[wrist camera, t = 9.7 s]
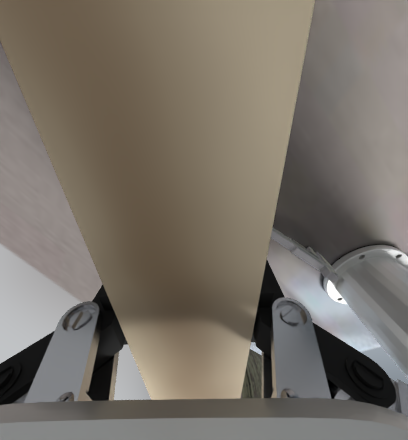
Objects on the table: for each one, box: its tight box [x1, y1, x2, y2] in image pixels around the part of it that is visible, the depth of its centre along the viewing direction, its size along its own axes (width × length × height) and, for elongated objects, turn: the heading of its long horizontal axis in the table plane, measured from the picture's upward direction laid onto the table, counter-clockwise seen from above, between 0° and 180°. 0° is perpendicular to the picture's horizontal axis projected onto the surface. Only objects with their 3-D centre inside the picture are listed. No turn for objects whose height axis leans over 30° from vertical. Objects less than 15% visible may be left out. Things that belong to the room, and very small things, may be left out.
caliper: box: [271, 227, 339, 283], centre depth 23 cm, size 20×1×6 cm, turn 58°
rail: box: [0, 0, 315, 400], centre depth 9 cm, size 5×22×6 cm, turn 1°
